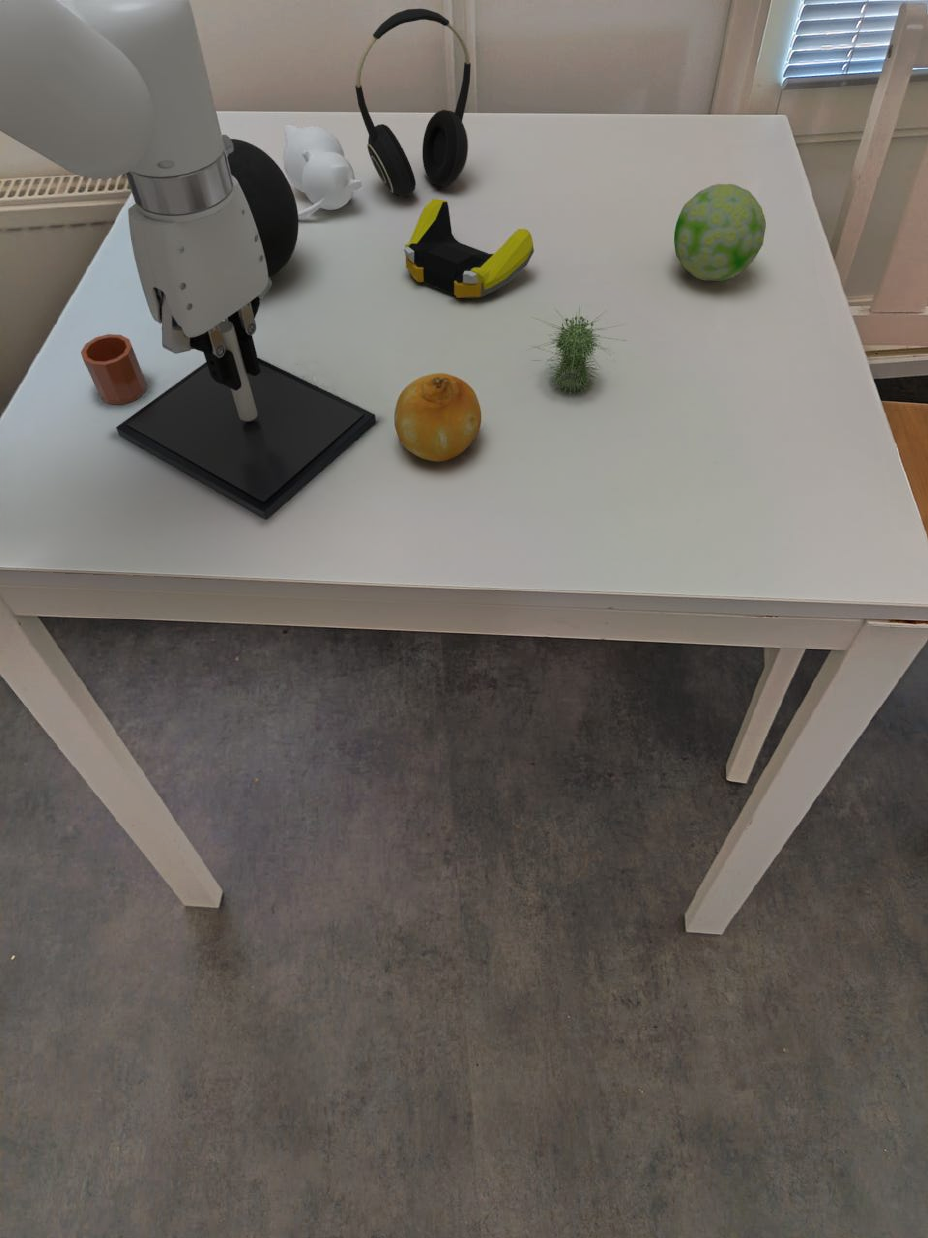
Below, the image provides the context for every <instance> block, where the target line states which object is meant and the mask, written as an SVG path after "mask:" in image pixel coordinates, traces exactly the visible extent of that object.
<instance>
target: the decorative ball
mask: <svg viewBox="0 0 928 1238" xmlns="http://www.w3.org/2000/svg"><path fill="white" fill-rule="evenodd" d="M766 227H767V223H766V217H765V214H764V210H763V208H762V206H761V205H760V203H759V202H758V201H757V199H756V197H755V196H754V194H753V193H752V192H751V191H750V190H748V189H746V188H742V186H741V187H740V186H739V185H737V184H734V183H727V184H725V183H716V184H713V185H710V186H708V187H705V188H704V189H701V190H699V191H698V192H697V193H696V194H695V195H694V196H692V197H691V198H690V199H689V200H688V201H686V203H685V204H683V206H682V209H681V210H680V213H679V214H678V217H677V220H676V224H675V228H674V236H673V244H674V252H675V256H676V258H677V260H678V261H679V263H680V264H681V265H682V267H683V268H684V269H685V270H686V271H687V273H690V274H691V275H692V276H693V277H694V278H696V279H699V280H701V281H717V282H723V281H727V280H729V279H732V278H734V277H735V276H738V275H739V274H740V273H742V272H743V270H745V269H747V268H748V267H749V266H750V265H751V264H753V263H754V261H755V259H756V257H757V255H758V254H759V252H760V250H761V249H762V247H763V245H764V241H765V240H764V239H765V233H766Z"/></svg>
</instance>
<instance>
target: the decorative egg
mask: <svg viewBox="0 0 928 1238" xmlns="http://www.w3.org/2000/svg"><path fill="white" fill-rule="evenodd" d="M230 139H231V141H232V143H233V146H234V150H233V152H232V153H230V154H228V157H227V159H228V163H229V167H230V172H231V175H232V176H234V177H235V178H236V179H237V181H238V183H239V185H240V187H241V189H242V191H243V193H244V195H245V198H246V200H247V202H248V205H249V207H250V210H251V213H252V215H253V218H254V221H255V224H256V227H257V230H258V233H259V237H260V240H261V244H262V247H263V251H264V255H265V260H266V264H267V270H268V276H269V278H270V279H271V278H273V277H274V276H276V275H277V274H279V272H281V271H282V270H283V269H284V268H285V266H286V265H287V264H288V263H289V261H290V259H291V258H292V255H293V253H294V251H295V248H296V246H297V241H298V236H299V220H298V212H299V211H298V206H297V202H296V197H295V194H294V192H293V189H292V186H291V184H290V181H288V180H289V179H288V177H286V174H285V173H284V172H283V170H282V169H281V167H280V166H279V164H277V162H276V161H275V160H274V159H273V158H272V157H271V156H270V155H269V154H268V153H266V152H265V151H264V150H263V149H261V148H260V147H258V146H256V145H254V144H253V143H251V142H248V141H245V140H243V139H237V138H230Z"/></svg>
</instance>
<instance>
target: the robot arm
mask: <svg viewBox="0 0 928 1238" xmlns="http://www.w3.org/2000/svg"><path fill="white" fill-rule="evenodd" d="M219 121H220V120H219V118H218V113H217V109H216V105H215V100H214V96H213V92H212V88H211V84H210V79H209V75H208V71H207V66H206V62H205V58H204V55H203V50H202V46H201V41H200V37H199V33H198V28H197V25H196V20H195V16H194V12H193V9H192V6H191V2H190V0H0V132H1V133H3V134H5V135H7V136H8V137H10V138H11V139H13V140H15V141H17V142H18V143H20V144H22V145H23V146H25V147H27V148H29V149H30V150H32V151H34V152H36V153H38V154H39V155H41V156H42V157H44V158H46V159H48V160H49V161H50V162H53V163H54V164H56V165H58V166H59V167H61V168H63V169H64V170H65V171H68V172H70V173H72V174H74V175H76V176H79V177H82V178H87V179H91V180H109V179H113V178H118V177H121V176H122V175H125V176H126V179H127V182H128V185H129V189H130V190H131V195H132V197H133V200H134V204H133V205H131V206H130V207H128V209H127V212H128V213H127V214H128V227H129V234H130V235H129V236H130V240H131V241H130V242H131V246H132V247H131V248H132V252H133V256H134V261H135V265H136V269H137V272H138V273H137V274H138V277H139V280H140V285H141V287H142V291H143V294H144V295H143V296H144V298H145V301H146V303H147V307H148V310H149V313H150V315H151V317H152V318H153V320H154V321H155V322H157V323H158V324H160V325H161V345H162V348H163V349H165V350H167V351H169V352H171V353H173V354H182V353H185V352H190V351H192V350H196V351H198V352H202V353H203V356H204V359H205V363H206V362H207V366H208V369H209V372H210V375H211V377H212V378H213V379H214V380H215V381H216V382H218V383H220V384H224V385H225V386H227V387H229V388H231V389H233V390H235V391H237V390H238V389H240V388H241V385H242V384H241V380H240V377H239V373H238V370H237V366H236V362H235V359H234V355H233V353H232V352H231V351H229V350H227V349H226V348H225V344H224V341H223V338H222V334H221V331H220V328H219V325H218V324H219V323H220V322H222V321H229V322H231V323H232V324H233V325H234V329H235V333H236V336H237V340H238V344H239V347H240V351H241V355H242V358H243V362H244V366H245V369H246V373H248V374H250V375H252V376H257V375H258V374H259V373H260V367H259V364H258V360H257V357H258V353H257V350H256V344H255V342H254V338H253V335H255V333H256V331H257V323H256V316H257V314H258V311H259V308H260V306H261V301H262V300H263V299H264V298H265V296H266V295H267V293H268V292H269V290H270V289H271V288H272V285H273V282H272V281H273V280H272V279H271V278H269V276H268V270H267V264H266V260H265V255H264V251H263V247H262V244H261V240H260V237H259V233H258V230H257V227H256V224H255V221H254V218H253V215H252V213H251V210H250V207H249V205H248V202H247V200H246V198H245V195H244V193H243V191H242V189H241V187H240V185H239V183H238V181H237V179H236V178H235V177H234V176H232V175H231V172H230V167H229V163H228V159H227V157H228V154H230V153H232V152H233V150H234V146H233V143H232V141H231V139H232V138H230V137H229V136H228V135H227V134H222V130H221V126H220V122H219Z"/></svg>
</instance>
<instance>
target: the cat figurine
mask: <svg viewBox="0 0 928 1238" xmlns="http://www.w3.org/2000/svg"><path fill="white" fill-rule="evenodd" d="M283 132H284V138H285V145H284V149H283V155H282V161H283V163H282V164H283V168H284V172H285V176H287V177H286V178H287V180H289V183H291V185H293V186H294V188H296V189H297V190H299V191H300V192H302V193H304V194H305V196H306V197H307V198H308V200H309V201H310V202H311V203H312V205H310V206H308V207H306V208H303V209H302V210H299V211H298V221H300V220H301V219H304V218H306V217H308V216H310V215H312V214H313V213H315V212H316V211H318V210H319V209H322V210H326V211H333V210H338V209H340V208H342V207H344V206H345V205H346V204H348V203H349V201H350V200H351V198H352V196H353V194H354V192H355V191H357V190H359V189H361V187H362V186H363V185H362V183H363V181H362V180H361V179H356V176H355V172H354V169H353V167H352V165H351V162H349V160H348V159H347V158H346V157H345V151H344V149H343V146H342V144H341V142H340V140H339V139H338V138H337V137H336V136H335V135H334V134H333V132H331V131H330V130H328V129H325V128H323V127H321V126H316V125H314V126H313V125H309V126H304V127H297V126H295V125H292V124H286V125H285V126H284V129H283Z"/></svg>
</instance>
